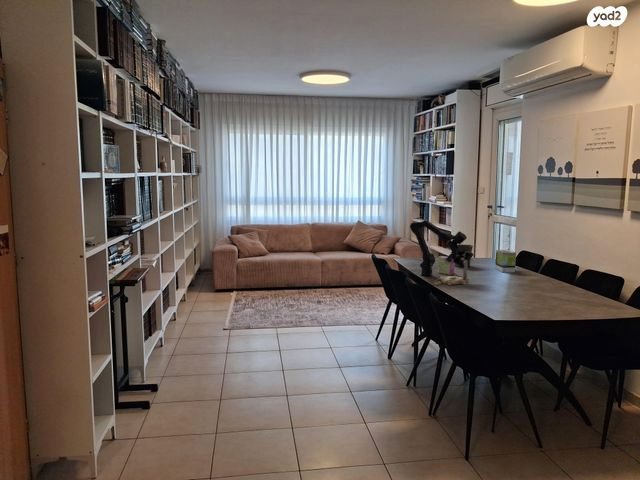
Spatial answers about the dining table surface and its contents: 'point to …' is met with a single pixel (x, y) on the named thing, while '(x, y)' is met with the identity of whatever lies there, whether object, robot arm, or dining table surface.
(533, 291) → the dining table surface
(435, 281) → the pointer
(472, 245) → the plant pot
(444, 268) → the box
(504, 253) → the tea box
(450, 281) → the index wheel
